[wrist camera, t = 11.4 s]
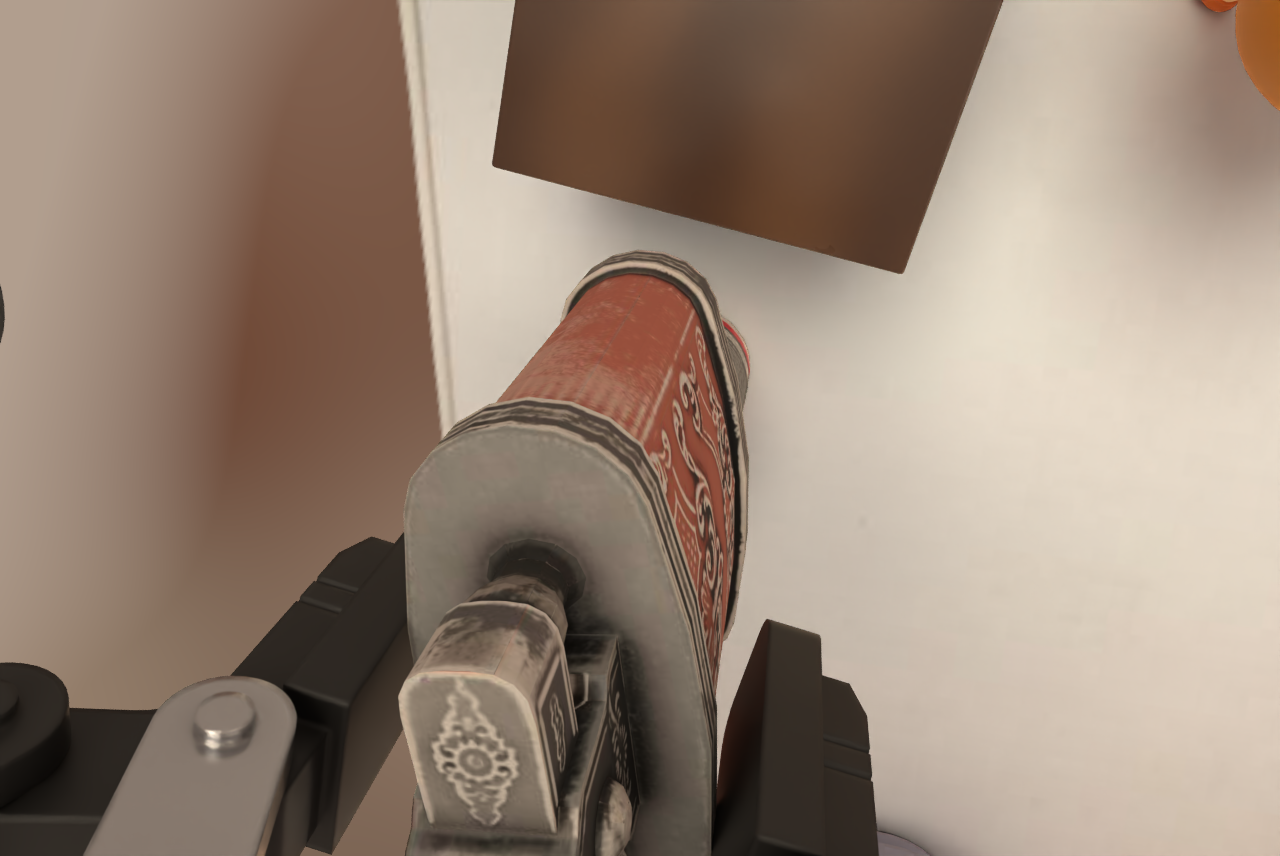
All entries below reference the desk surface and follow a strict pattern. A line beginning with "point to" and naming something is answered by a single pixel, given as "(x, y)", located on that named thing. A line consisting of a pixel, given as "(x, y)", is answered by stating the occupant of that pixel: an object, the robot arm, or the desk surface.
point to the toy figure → (1257, 41)
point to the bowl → (897, 846)
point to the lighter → (581, 584)
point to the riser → (748, 110)
